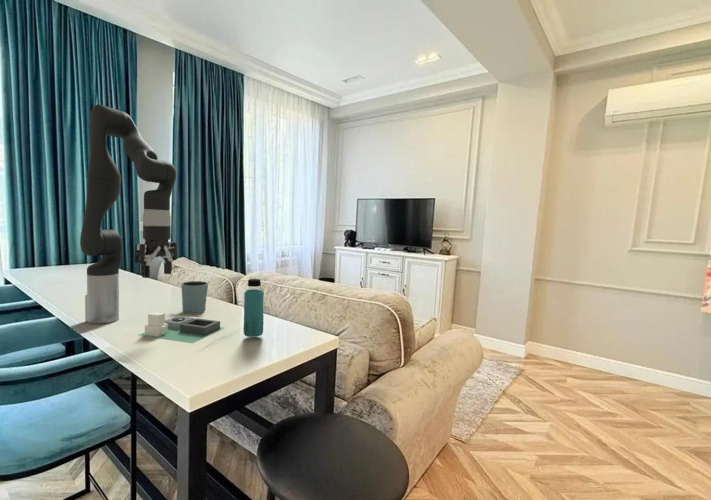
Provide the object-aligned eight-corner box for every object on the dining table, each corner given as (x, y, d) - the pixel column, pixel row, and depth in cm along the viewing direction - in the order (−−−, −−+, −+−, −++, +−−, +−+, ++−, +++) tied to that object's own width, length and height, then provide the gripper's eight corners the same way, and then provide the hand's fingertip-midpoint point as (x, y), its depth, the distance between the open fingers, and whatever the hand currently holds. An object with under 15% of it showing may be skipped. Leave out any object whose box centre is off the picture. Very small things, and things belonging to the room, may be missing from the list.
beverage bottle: (267, 336, 113) (268, 278, 112) (255, 343, 107) (256, 281, 106) (251, 333, 115) (252, 276, 114) (238, 339, 109) (239, 279, 108)
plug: (144, 334, 106) (144, 314, 105) (155, 330, 109) (155, 311, 109) (160, 336, 104) (160, 316, 104) (169, 332, 108) (170, 313, 108)
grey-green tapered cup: (191, 307, 145) (191, 280, 144) (212, 309, 144) (213, 282, 143) (175, 313, 135) (175, 284, 134) (198, 315, 134) (198, 286, 133)
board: (138, 339, 105) (138, 327, 105) (176, 325, 121) (176, 314, 120) (192, 348, 100) (192, 335, 100) (225, 332, 116) (225, 320, 116)
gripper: (164, 224, 112) (164, 272, 113) (126, 223, 98) (127, 278, 99) (183, 225, 110) (183, 273, 112) (148, 224, 97) (148, 280, 98)
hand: (157, 275), depth 106 cm, fingers open, 8 cm apart
